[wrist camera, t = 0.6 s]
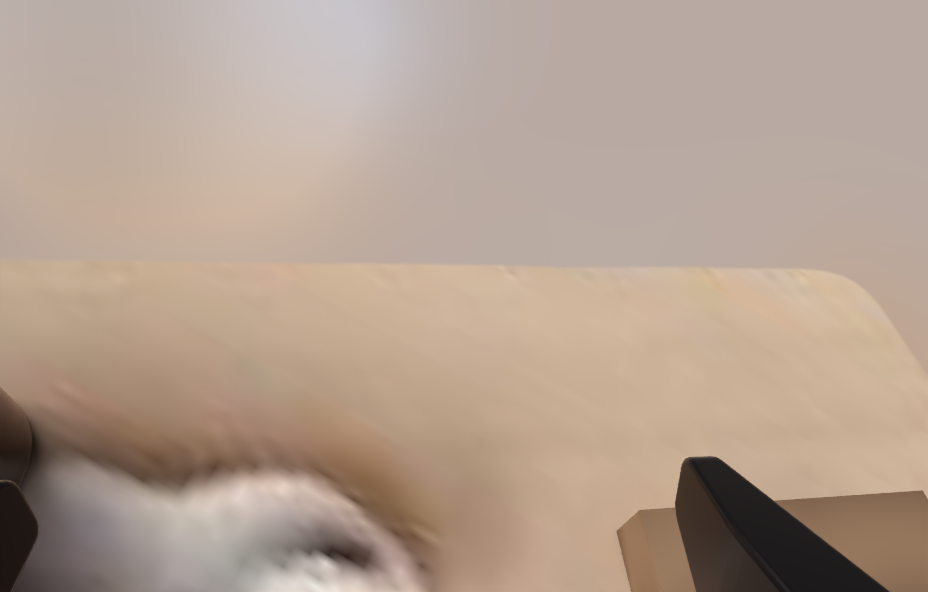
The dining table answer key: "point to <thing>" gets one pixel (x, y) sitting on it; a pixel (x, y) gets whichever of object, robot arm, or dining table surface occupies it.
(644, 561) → the walnut base
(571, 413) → the dining table surface
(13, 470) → the supplement bottle
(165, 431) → the dining table surface
